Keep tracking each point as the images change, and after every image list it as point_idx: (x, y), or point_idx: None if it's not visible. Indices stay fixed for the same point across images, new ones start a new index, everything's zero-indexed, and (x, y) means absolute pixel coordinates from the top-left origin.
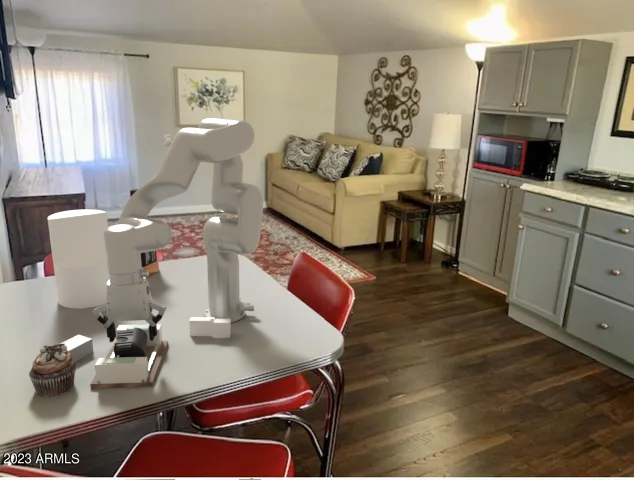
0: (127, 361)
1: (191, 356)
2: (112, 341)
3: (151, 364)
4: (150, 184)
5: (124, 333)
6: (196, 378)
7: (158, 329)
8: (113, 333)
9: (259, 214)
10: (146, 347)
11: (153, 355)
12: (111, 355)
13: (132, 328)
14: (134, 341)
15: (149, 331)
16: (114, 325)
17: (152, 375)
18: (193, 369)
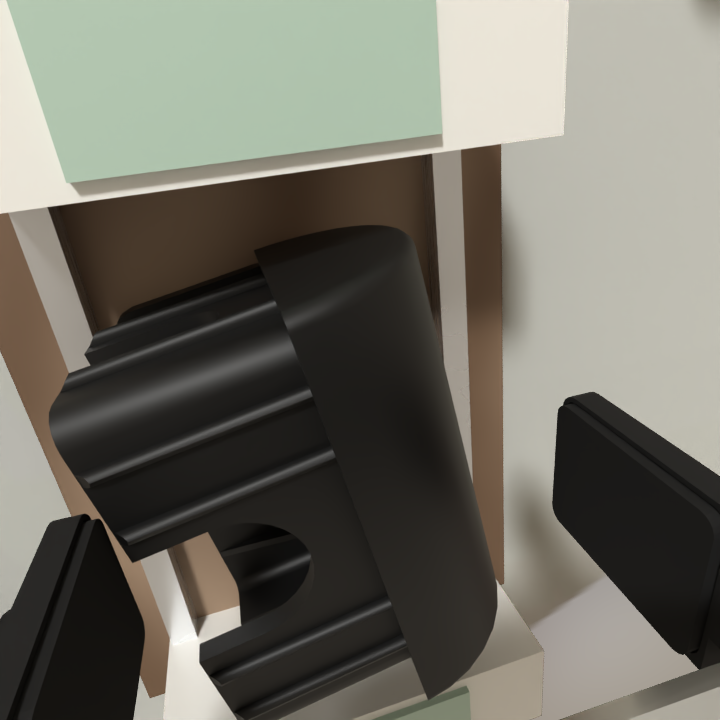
0: None
1: (666, 219)
2: (139, 632)
3: (470, 463)
4: None
5: (189, 447)
6: (687, 449)
7: (556, 135)
8: (109, 667)
9: None
10: (331, 177)
11: (457, 357)
12: (60, 370)
13: (173, 157)
14: (433, 631)
15: (640, 606)
16: (49, 700)
17: (490, 534)
18: (675, 372)
